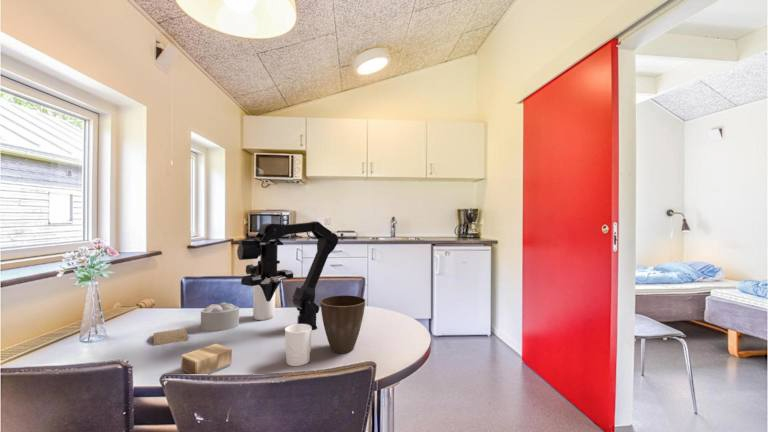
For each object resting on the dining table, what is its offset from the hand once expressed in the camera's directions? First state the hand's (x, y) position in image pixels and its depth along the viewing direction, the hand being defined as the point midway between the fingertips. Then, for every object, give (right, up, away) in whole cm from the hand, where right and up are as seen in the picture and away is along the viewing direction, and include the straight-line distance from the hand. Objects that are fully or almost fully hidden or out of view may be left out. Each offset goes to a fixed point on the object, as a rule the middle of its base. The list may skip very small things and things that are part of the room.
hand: (268, 301), depth 115 cm
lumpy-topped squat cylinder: (-23, -13, +11) cm, 28 cm away
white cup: (+16, -13, -19) cm, 28 cm away
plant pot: (+28, -13, -10) cm, 33 cm away
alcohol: (-10, -13, +23) cm, 28 cm away
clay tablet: (-35, -14, -1) cm, 37 cm away
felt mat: (-9, -13, -24) cm, 28 cm away
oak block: (-6, -10, -19) cm, 23 cm away
